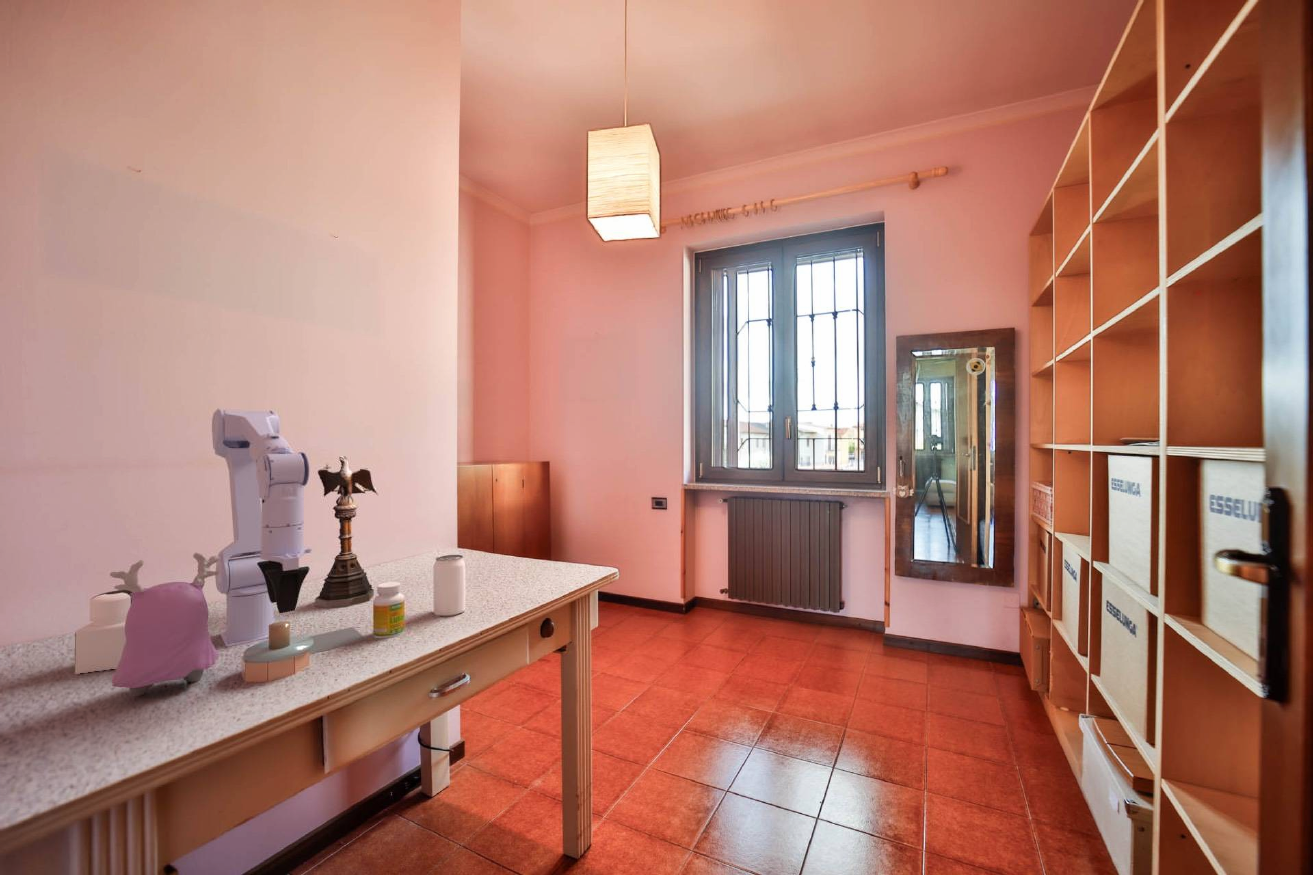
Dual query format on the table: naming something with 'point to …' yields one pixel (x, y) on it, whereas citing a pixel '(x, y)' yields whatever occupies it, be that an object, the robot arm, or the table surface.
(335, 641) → the mat
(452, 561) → the can
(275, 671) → the bowl
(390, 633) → the supplement bottle
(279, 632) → the lid
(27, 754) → the table surface
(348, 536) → the bird statue
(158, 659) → the toy character
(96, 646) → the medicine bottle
